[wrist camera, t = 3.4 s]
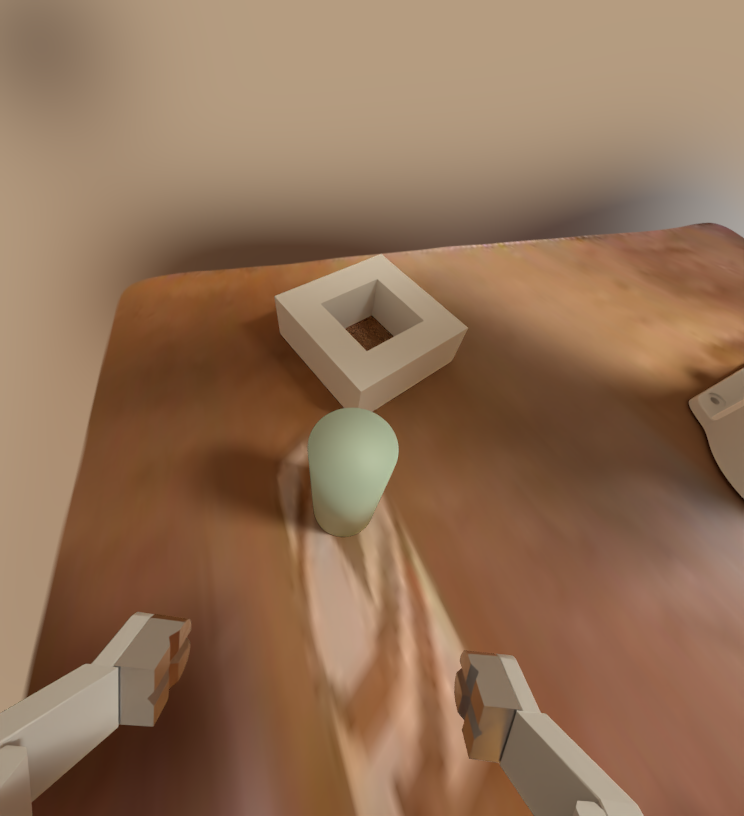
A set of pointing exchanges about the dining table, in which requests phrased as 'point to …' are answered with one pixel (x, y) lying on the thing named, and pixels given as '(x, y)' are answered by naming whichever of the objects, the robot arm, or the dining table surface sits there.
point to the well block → (359, 299)
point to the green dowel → (349, 468)
